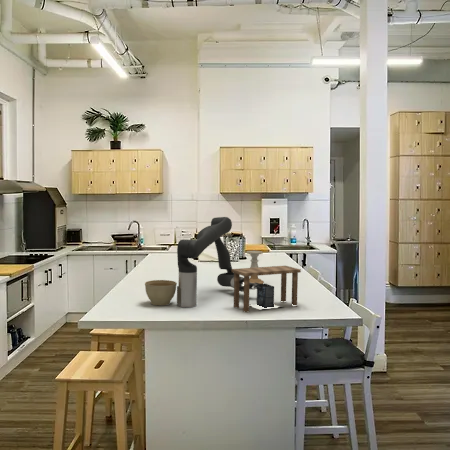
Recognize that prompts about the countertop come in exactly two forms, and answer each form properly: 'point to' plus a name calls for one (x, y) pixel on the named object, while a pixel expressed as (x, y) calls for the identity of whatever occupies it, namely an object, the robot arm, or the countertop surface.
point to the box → (265, 295)
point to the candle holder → (254, 265)
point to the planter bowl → (160, 291)
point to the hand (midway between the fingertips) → (254, 288)
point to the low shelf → (264, 271)
